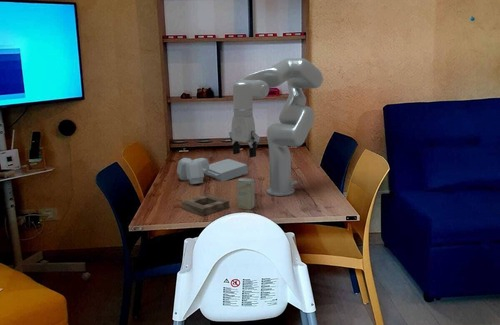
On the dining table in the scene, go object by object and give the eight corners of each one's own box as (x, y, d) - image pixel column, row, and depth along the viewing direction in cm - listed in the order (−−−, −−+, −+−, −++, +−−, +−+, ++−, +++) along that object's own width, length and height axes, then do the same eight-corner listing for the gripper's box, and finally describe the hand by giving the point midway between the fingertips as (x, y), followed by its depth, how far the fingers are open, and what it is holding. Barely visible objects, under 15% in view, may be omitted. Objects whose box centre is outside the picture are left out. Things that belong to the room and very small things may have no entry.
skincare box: (237, 208, 200) (236, 180, 197) (241, 205, 204) (240, 177, 201) (251, 209, 197) (250, 181, 195) (255, 206, 201) (254, 178, 199)
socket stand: (208, 200, 211) (208, 194, 210) (229, 207, 201) (229, 200, 200) (182, 208, 201) (181, 201, 201) (202, 216, 191) (202, 209, 191)
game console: (249, 173, 249) (245, 149, 245) (194, 191, 233) (190, 166, 229) (228, 166, 265) (225, 143, 261) (176, 182, 249) (172, 159, 245)
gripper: (222, 112, 195) (223, 153, 199) (251, 116, 183) (252, 160, 187) (235, 110, 200) (237, 151, 204) (265, 113, 188) (266, 156, 192)
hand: (244, 155), depth 195 cm, fingers open, 9 cm apart
